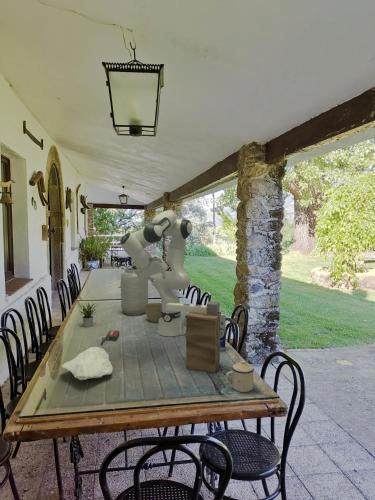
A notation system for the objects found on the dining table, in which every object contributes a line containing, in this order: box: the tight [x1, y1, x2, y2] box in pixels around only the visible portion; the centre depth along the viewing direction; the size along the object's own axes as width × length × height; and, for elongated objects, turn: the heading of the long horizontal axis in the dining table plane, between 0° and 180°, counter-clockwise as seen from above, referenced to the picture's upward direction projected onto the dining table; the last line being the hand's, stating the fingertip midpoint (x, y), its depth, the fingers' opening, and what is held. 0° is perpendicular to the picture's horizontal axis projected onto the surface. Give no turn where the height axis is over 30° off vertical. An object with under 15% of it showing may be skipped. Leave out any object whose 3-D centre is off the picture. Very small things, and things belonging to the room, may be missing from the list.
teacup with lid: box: [225, 360, 255, 393], centre depth 156 cm, size 12×9×12 cm
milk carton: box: [220, 314, 227, 352], centre depth 201 cm, size 7×7×20 cm
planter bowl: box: [144, 302, 162, 323], centre depth 256 cm, size 16×16×11 cm
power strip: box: [166, 300, 221, 315], centre depth 181 cm, size 6×26×5 cm, turn 73°
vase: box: [120, 267, 149, 316], centre depth 275 cm, size 20×20×34 cm
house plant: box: [79, 302, 98, 328], centre depth 243 cm, size 14×14×16 cm
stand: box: [184, 311, 222, 374], centre depth 177 cm, size 12×15×26 cm
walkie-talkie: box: [100, 329, 120, 345], centre depth 217 cm, size 9×4×20 cm
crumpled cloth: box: [61, 346, 113, 381], centre depth 171 cm, size 24×35×9 cm
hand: (159, 279), depth 195 cm, fingers open, 8 cm apart
